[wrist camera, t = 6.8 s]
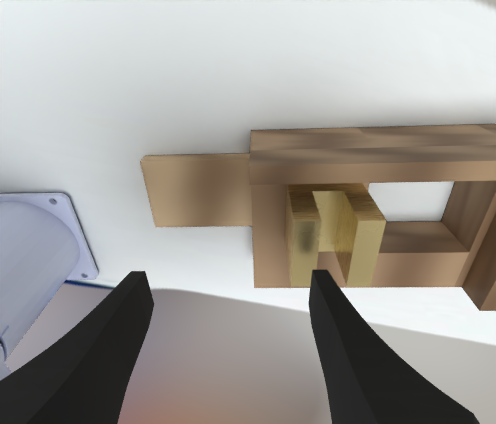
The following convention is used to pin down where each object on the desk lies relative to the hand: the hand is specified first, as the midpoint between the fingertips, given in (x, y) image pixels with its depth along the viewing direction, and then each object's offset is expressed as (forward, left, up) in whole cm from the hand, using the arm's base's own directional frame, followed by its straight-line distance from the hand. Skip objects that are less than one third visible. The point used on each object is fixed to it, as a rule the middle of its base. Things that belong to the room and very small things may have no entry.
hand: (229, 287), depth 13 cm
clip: (+5, 0, -6) cm, 8 cm away
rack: (+4, -1, -9) cm, 10 cm away
